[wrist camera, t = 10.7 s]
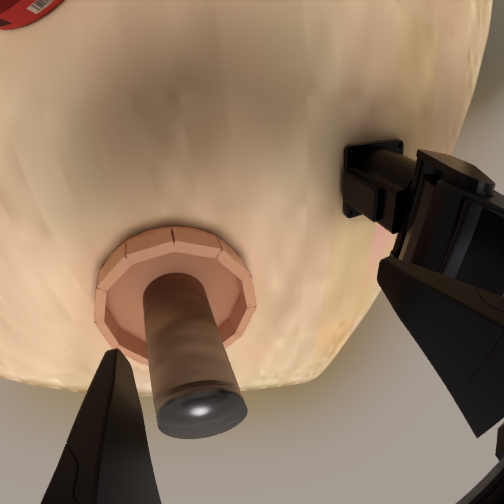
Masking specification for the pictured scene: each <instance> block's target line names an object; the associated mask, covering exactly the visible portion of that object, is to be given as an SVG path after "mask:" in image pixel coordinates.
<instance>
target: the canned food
mask: <svg viewBox="0 0 504 504" xmlns="http://www.w3.org/2000/svg"><path fill="white" fill-rule="evenodd" d="M62 1H63V0H0V29H1V30H9V29H15V28H18V27H22V26H25V25H28V24H30V23H32V22H35V21H37V20H38V19H40V18H42V17H43V16H45V15H46V14H48V13H49V12H50V11H52V10H53V9H54V8H55V7H56V6H57V5H59V4H60V3H61V2H62Z"/></svg>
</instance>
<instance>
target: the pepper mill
mask: <svg viewBox="0 0 504 504" xmlns="http://www.w3.org/2000/svg"><path fill="white" fill-rule="evenodd" d="M143 311H144V324H145V335H146V346H147V355H148V364H149V372H150V379H151V386H152V393H153V399H154V406H155V412H156V418H157V423H158V428H159V430H160V431H161V432H162V433H164V434H166V435H168V436H171V437H174V438H180V439H198V438H205V437H210V436H214V435H217V434H220V433H223V432H225V431H228V430H230V429H232V428H233V427H235V426H236V425H238V424H239V423H240V422H241V421H243V419H244V418H245V417H246V415H247V407H246V404H245V402H244V399H243V397H242V394H241V391H240V389H239V386H238V383H237V381H236V378H235V375H234V373H233V370H232V367H231V364H230V362H229V359H228V356H227V353H226V351H225V348H224V345H223V342H222V339H221V337H220V334H219V331H218V328H217V325H216V322H215V319H214V316H213V313H212V310H211V307H210V304H209V301H208V298H207V295H206V292H205V289H204V287H203V285H202V284H201V282H200V281H199V280H197V279H196V278H194V277H193V276H190V275H188V274H184V273H169V274H165V275H162V276H160V277H158V278H156V279H154V280H153V281H152V282H151V283H150V284H149V285H148V286H147V287H146V289H145V291H144V294H143Z"/></svg>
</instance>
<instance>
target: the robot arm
mask: <svg viewBox="0 0 504 504" xmlns="http://www.w3.org/2000/svg"><path fill="white" fill-rule="evenodd" d="M398 144H399V145H398ZM403 146H404V145H403V141H401V140H399V139H393V140H384V141H376V142H368V143H360V144H353V145H348V146H346V148H345V150H344V198H343V199H344V215H345V216H346V217H347V218H352V217H356V216H359V215H364V216H366V217H367V218H368V219H370V220H371V221H372V222H377V223H379V224H380V225H381V226H383V227H384V228H385V229H387V230H388V231H389V232H391V233H392V234H395V233H398V234H397V238H396V241H395V244H394V247H393V250H392V251H391V253H390V256H389V257H386V258H384V259H382V260H381V261H380V263H379V268H378V274H377V281H378V284H379V286H380V287H381V289H382V290H383V292H384V294H385V295H386V297H387V299H388V300H389V302H390V304H391V305H392V307H393V309H394V310H395V312H396V314H397V315H398V317H399V318H400V320H401V321H402V323H403V324H404V325H405V327H406V328H407V330H408V331H409V332H410V334H411V335H412V336H413V338H414V339H415V341H416V342H417V344H418V345H419V346H420V348H421V349H422V351H423V352H424V354H425V355H426V357H427V358H428V360H429V361H430V363H431V364H432V365H433V367H434V369H435V370H436V372H437V373H438V375H439V376H440V378H441V379H442V381H443V383H444V384H445V386H446V387H447V389H448V390H449V392H450V394H451V395H452V397H453V398H454V400H455V402H456V404H457V405H458V407H459V408H460V410H461V412H462V413H463V415H464V417H465V419H466V420H467V422H468V424H469V425H470V427H471V429H472V431H473V433H474V434H475V436H476V437H477V438H478V437H480V436H481V435H482V434H484V433H485V432H486V431H488V430H489V429H490V428H491V427H493V426H494V425H495V424H496V423H498V422H499V421H500V420H501V419H502V418H504V195H502V194H500V193H498V192H496V191H494V187H495V183H494V182H493V181H492V180H491V179H490V178H489V177H488V176H486V175H485V174H484V173H483V172H482V171H480V170H479V169H478V168H477V167H476V166H474V165H472V164H469V163H467V162H465V161H463V160H460V159H458V158H456V157H453V156H450V155H446V154H441V153H436V152H431V151H426V150H421V149H418V150H417V155H416V156H417V161H415V160H413V159H410V158H408V157H406V156H404V155H403ZM351 149H352V152H351V153H350V150H351ZM349 211H350V213H349ZM495 455H496V457H497V458H498V459H499V462H498V464H497V465H496V466H495V467H494V468H493V469H492V470H491V471H490V472H489V473H488V474H487V475H486V476H485V477H484V478H483V479H482V480H481V481H480V482H479V483H478V484H477V485H476V486H475V487H474V488H473V489H472V490H471V491H470V492H469V493H468V494H466V495H465V496H464V497H463V498H462V499H461V500H460V501H458V502H457V503H456V504H504V422H503V424H502V425H501V426H500V427H499V428H498V434H497V445H496V454H495ZM41 504H161V501H160V497H159V493H158V489H157V485H156V480H155V476H154V472H153V467H152V463H151V458H150V453H149V448H148V442H147V437H146V431H145V425H144V419H143V413H142V408H141V404H140V400H139V396H138V392H137V388H136V384H135V380H134V375H133V371H132V367H131V365H130V363H129V361H128V360H127V359H126V357H125V356H124V355H123V353H122V352H121V350H120V349H118V348H115V349H111V350H108V351H106V352H105V354H104V356H103V358H102V360H101V363H100V365H99V367H98V369H97V371H96V373H95V375H94V378H93V380H92V382H91V384H90V386H89V389H88V391H87V393H86V396H85V398H84V400H83V403H82V405H81V407H80V409H79V412H78V414H77V417H76V419H75V422H74V424H73V426H72V429H71V432H70V434H69V437H68V439H67V444H65V447H64V450H63V452H62V455H61V458H60V460H59V463H58V465H57V468H56V470H55V472H54V475H53V477H52V479H51V481H50V484H49V486H48V488H47V490H46V493H45V495H44V497H43V499H42V502H41Z"/></svg>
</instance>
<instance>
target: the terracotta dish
mask: <svg viewBox="0 0 504 504" xmlns="http://www.w3.org/2000/svg"><path fill="white" fill-rule="evenodd" d="M169 273H184V274H188V275H190V276H193V277H194V278H196V279H197V280H199V281H200V282H201V284H202V285H203V287H204V289H205V292H206V295H207V298H208V301H209V304H210V307H211V310H212V313H213V316H214V319H215V322H216V325H217V328H218V331H219V334H220V337H221V339H222V342H223V345H224V348H227V347H228V346H229V345H231V344H232V343H233V342H235V341H236V340H237V339H238V338H240V337H241V336H242V335H243V333H244V331H245V329H246V327H247V325H248V323H249V321H250V319H251V317H252V315H253V313H254V311H255V309H256V306H257V304H256V298H255V292H254V286H253V280H252V275H251V274H250V272H249V270H248V268H247V266H246V265H245V263H244V261H243V260H242V259H241V258H240V257H239V256H238V255H237V254H236V253H235V251H234V250H233V249H232V248H231V247H230V246H229V245H228V244H227V243H225V242H224V241H223V240H222V239H220V238H218V237H217V236H215V235H213V234H211V233H208V232H206V231H203V230H200V229H196V228H191V227H184V226H168V227H159V228H155V229H151V230H147V231H145V232H142V233H139V234H137V235H135V236H133V237H131V238H130V239H128V240H126V241H125V242H124V243H122V244H121V245H120V246H119V247H117V248H116V249H115V250H114V251H113V252H112V254H111V255H110V256H109V257H108V259H107V260H106V262H105V264H104V266H103V267H102V268H101V270H100V271H99V273H98V280H97V286H96V296H95V312H94V321H95V324H96V326H97V327H98V329H99V330H100V332H101V333H102V335H103V336H104V338H105V339H106V340H107V342H108V343H109V345H110V346H111V348H112V349H113V348H114V349H115V348H118V349H120V350H121V352H122V353H123V355H125V356H127V357H129V358H131V359H133V360H135V361H138V362H140V363H142V364H144V363H145V365H149V364H148V355H147V346H146V335H145V324H144V311H143V294H144V291H145V289H146V287H147V286H148V285H149V284H150V283H151V282H152V281H153V280H154V279H156V278H158V277H160V276H162V275H165V274H169Z"/></svg>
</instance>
